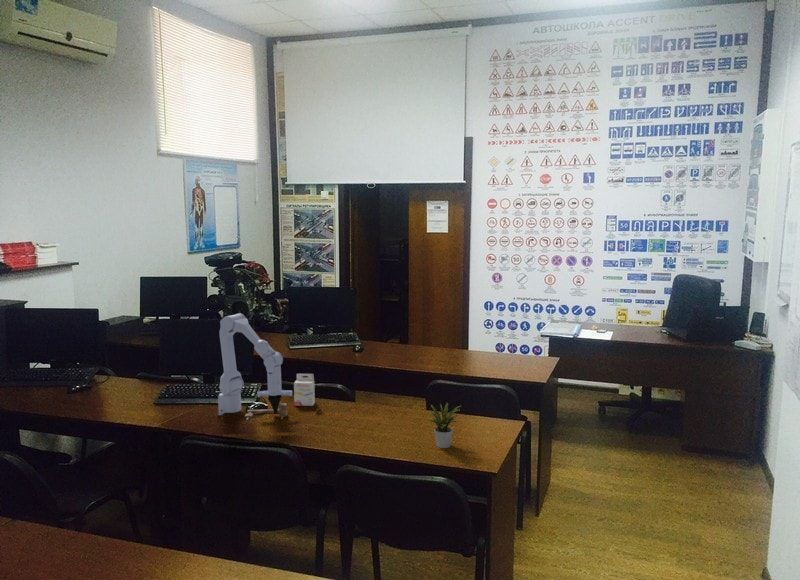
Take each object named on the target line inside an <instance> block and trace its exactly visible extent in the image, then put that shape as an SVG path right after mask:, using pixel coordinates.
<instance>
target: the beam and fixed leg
mask: <svg viewBox="0 0 800 580" xmlns="http://www.w3.org/2000/svg"><path fill="white" fill-rule="evenodd" d="M246 412H247V413H245V415H244V419H245V421H248V420H249V419H252V418H253V416H254V415H257V414H275V413H274V411H273V408H272V409H271V408H270V409H269V408H267V409H265V408H264V409H247V411H246ZM276 414H279V408H278V412H277V413H276Z"/></svg>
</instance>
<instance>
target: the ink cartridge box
mask: <svg viewBox="0 0 800 580" xmlns="http://www.w3.org/2000/svg"><path fill="white" fill-rule="evenodd" d="M315 389H316V388H315V376H314V373H296V380H295V381H294V382H293V398H294V402H293V403H294V406H296V407H297V406H300V407H302V406H304V407H305V406H306V407H307V406H311V407H312V406H314V405H315V403H316V397H315V396H316V395H315Z"/></svg>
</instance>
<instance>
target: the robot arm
mask: <svg viewBox="0 0 800 580" xmlns="http://www.w3.org/2000/svg"><path fill="white" fill-rule="evenodd" d="M219 324H220V325H219V326H220V328H219V342H220V350H221V358H222V366H223V373H222V375H221V376H220V378H219V381H220V382H219V391H220V392H221V393H219V394H218V396H217V397H218V398H217V404H218V405H217V407H218V414H217V415H218V416H224V414H226V413H227V414H229V413H230V414H232V413H233V414H234V413H238V412H239V413H240V412H241V411H242V397H241V395H242V394H241V393H242V389H243V387H244V384H245V383H244V380H243V378H242V374H241V372H240V371H238V370H237V369H238V368H237V362H236V353H235V345H234V344H235V343H234V334H236V333H242V334H243V335H244V336H245V338H247V339H248V340H249V341H250V342H251V343H252V344H253V345H254V346H253V347H254V348H253V349H254V351H255V352H256V353H257V354H258V355H259V356H260V358H262V359H263V365H264V366H265V369H266V370H265V371H266V372H267V373H266V375H267V377H266V378H267V390H261V391H260V390H259V391H257V393H256V394H257V398H261V397H267V400H268V402H269V403H270V406H271V408H272V409H273V411H274V413H273V414H278V413H277V412H278V409H279V404H280V403H281V400H282V397H287V396H289V397H292V396H293V390H290V389H289V390H288V389H287V390H286V389H282V388H283V387H282V368H281V365H282V364H283V363H284V362H283V361H284V358H283V355H282V353H281V352H279V351H276V350H275V349H273V348H272V346H270V344H269V342H268V341H266V340H265V339H261V338H260V337H259V335H258V334H257V333H256V331H255V330H254V329H253V328H252V326H251V325H250V324H249V320H248V318H247V317H246V316H245V315H244V314H243V313H241V312H238V313H236V314H232V315H227V316H224V317H222V319H220V321H219Z"/></svg>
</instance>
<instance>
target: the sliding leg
mask: <svg viewBox="0 0 800 580" xmlns="http://www.w3.org/2000/svg"><path fill="white" fill-rule="evenodd" d="M278 409H279V413H278V417H279V418H280V419H281V420H283V418H285V417H287V416H288V404H287V403H286V402H285V403H282V402H279V406H278Z"/></svg>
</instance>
